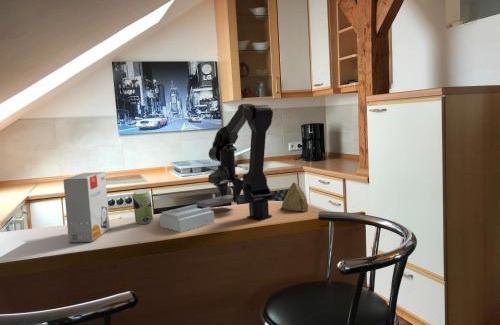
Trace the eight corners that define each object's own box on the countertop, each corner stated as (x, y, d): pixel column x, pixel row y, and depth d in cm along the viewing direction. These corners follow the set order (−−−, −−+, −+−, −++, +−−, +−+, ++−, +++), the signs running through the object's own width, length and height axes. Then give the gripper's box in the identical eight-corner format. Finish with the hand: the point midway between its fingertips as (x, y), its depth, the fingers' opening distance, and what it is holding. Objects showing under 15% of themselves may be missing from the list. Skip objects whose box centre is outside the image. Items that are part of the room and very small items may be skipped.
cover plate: (238, 200, 163) (238, 196, 163) (206, 207, 152) (206, 203, 152) (228, 198, 167) (228, 194, 167) (196, 205, 156) (196, 201, 156)
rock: (316, 205, 152) (307, 196, 161) (302, 188, 149) (294, 180, 159) (293, 224, 152) (286, 214, 162) (279, 207, 150) (273, 198, 159)
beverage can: (152, 219, 152) (150, 187, 151) (153, 224, 145) (150, 190, 144) (135, 221, 151) (132, 188, 149) (134, 226, 144) (131, 192, 142)
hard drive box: (92, 242, 128) (86, 178, 125) (68, 243, 128) (61, 179, 125) (110, 228, 143) (105, 171, 141) (88, 229, 143) (82, 172, 141)
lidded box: (214, 222, 143) (213, 208, 143) (180, 232, 134) (179, 216, 133) (193, 217, 152) (192, 203, 151) (160, 226, 142) (159, 211, 142)
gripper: (196, 163, 163) (199, 202, 165) (228, 166, 150) (230, 208, 152) (218, 160, 171) (220, 197, 173) (250, 162, 158) (252, 202, 159)
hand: (229, 201), depth 164 cm, fingers closed on cover plate, 6 cm apart
